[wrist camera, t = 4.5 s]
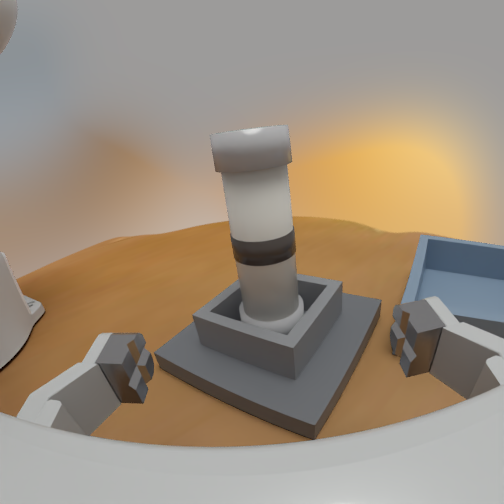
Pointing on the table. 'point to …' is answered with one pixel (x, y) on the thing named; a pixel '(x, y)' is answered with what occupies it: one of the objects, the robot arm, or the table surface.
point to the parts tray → (461, 280)
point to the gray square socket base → (276, 355)
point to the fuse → (261, 223)
